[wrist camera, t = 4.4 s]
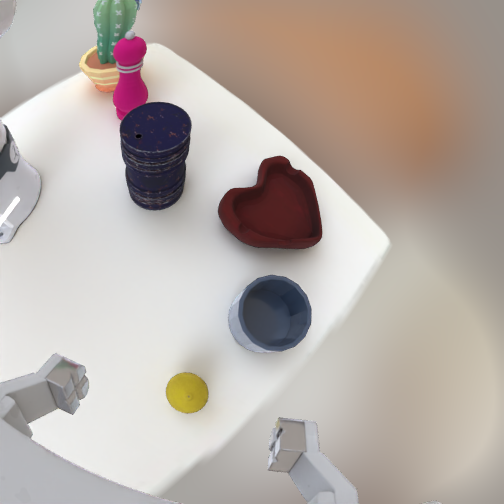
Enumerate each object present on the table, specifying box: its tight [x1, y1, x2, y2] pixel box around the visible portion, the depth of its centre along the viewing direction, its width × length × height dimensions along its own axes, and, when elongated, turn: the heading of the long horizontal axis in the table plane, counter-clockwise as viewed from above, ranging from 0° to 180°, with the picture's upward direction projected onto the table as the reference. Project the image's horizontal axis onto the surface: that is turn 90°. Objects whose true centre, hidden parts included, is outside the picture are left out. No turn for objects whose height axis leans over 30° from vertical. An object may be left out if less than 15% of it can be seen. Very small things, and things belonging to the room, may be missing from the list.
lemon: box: [166, 372, 208, 413], centre depth 34 cm, size 6×6×8 cm
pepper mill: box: [113, 31, 148, 120], centre depth 43 cm, size 7×7×20 cm
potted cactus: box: [79, 0, 144, 92], centre depth 43 cm, size 15×15×25 cm
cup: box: [228, 275, 311, 353], centre depth 41 cm, size 10×10×7 cm
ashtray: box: [218, 156, 322, 249], centre depth 49 cm, size 18×16×5 cm
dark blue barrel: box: [120, 102, 192, 210], centre depth 41 cm, size 10×10×15 cm
